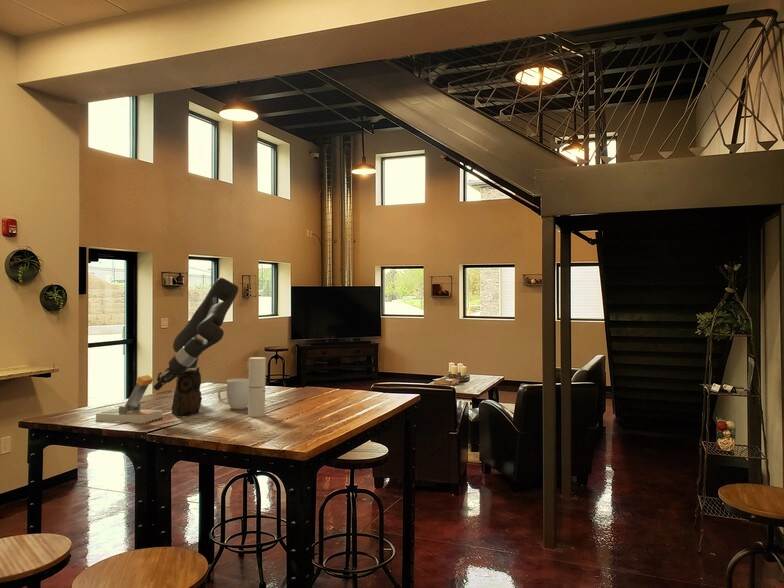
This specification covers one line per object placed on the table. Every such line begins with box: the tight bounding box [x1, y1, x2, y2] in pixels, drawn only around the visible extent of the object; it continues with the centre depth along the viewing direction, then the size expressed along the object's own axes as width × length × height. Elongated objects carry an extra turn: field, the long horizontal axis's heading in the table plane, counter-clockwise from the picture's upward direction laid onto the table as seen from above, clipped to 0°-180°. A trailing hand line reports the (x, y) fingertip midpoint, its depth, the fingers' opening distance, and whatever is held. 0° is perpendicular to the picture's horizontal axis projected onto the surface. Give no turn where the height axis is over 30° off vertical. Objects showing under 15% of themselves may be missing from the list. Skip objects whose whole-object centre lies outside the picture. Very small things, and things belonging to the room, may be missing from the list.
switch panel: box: [95, 402, 163, 424], centre depth 227 cm, size 22×12×6 cm, turn 80°
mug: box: [217, 378, 249, 410], centre depth 255 cm, size 15×11×13 cm
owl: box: [171, 366, 203, 418], centre depth 240 cm, size 13×13×20 cm
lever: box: [124, 375, 154, 412], centre depth 226 cm, size 3×6×16 cm, turn 169°
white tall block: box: [247, 356, 267, 418], centre depth 239 cm, size 7×7×25 cm
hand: (155, 388), depth 225 cm, fingers closed
